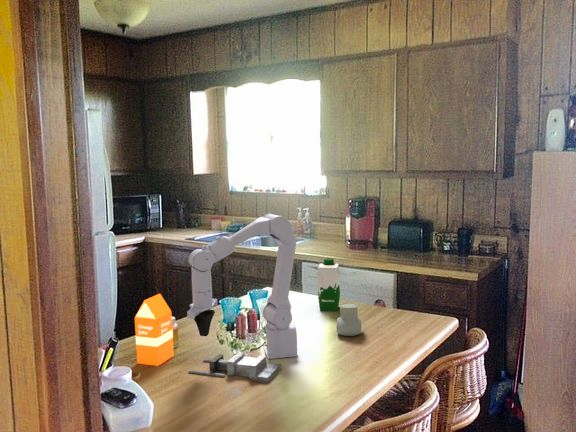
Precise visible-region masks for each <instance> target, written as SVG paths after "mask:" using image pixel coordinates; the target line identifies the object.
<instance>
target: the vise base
mask: <svg viewBox="0 0 576 432" xmlns="http://www.w3.org/2000/svg"><path fill="white" fill-rule="evenodd" d="M255 358H256V359H255V360H254V361H253V362H252V363H251V364H250V365H249V380H254V382H257V383H263V384H265V383H266V384H268V383H270V381H271V380H272V379H273V378H275V376H276V375H277V374H278V373H279V372H280V371H281V369H282V367H281V366H282V365H281V363H271V362H267V360H268V359H267V356H266V355H261V354H259V356H258V357H255ZM211 360H212V359H208V358H204V359H203V362H206V363H209V361H211ZM188 373H189V374H194V373H196V375H197V374H198V375H202V374H203V375H205V376H210V375H211V376H213V377H220V378H226V374H225V373H218V372H210V371H201V370H192V369H189V370H188Z"/></svg>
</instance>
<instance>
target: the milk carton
mask: <svg viewBox="0 0 576 432" xmlns="http://www.w3.org/2000/svg"><path fill="white" fill-rule="evenodd" d="M334 260H335V259H334V258H330V257H329V258H323V263H319V264H318V268H317V273H316V274H317V297H318V304H319V311H320V312H338V310H339V305H340V299H341V286H340V285H341V284H340V283H341V279H340V276H341V275H340V265H339V263H335V262H334Z"/></svg>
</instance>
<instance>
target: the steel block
mask: <svg viewBox="0 0 576 432" xmlns="http://www.w3.org/2000/svg"><path fill="white" fill-rule="evenodd" d="M256 358H257V357H253V356H252V357H251V356H244V357H243V358H242V359H241V360H239V361H238V362H237V363H236V364H235V371H236V374H235V376H241V377H249V365H250V364H251V363H252V362H253V361H254V360H255V359H256Z"/></svg>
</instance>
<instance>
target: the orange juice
mask: <svg viewBox="0 0 576 432" xmlns="http://www.w3.org/2000/svg"><path fill="white" fill-rule="evenodd" d="M172 317H173V316H172V310H171V308H170V307H169V305H168V304H167V302H166V301H165V299H164V298H163V296H162V294H161V293H158V294H156V295H153V296H152V297H148V298H147V299H144V300H143V302H142V304H141V305H140V307H139V309H138V311H137V313H136V314H135V316H134V328H135V329H134V331H135V345H136V360H137V361H136V363H137V364H139V365H140V364H142V365H150V366H160V365H162V364H163V363H165V362H166V361H167V360H170V359H171V358H172V357H174V356H175V355H174V348H173V330H172Z"/></svg>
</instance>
